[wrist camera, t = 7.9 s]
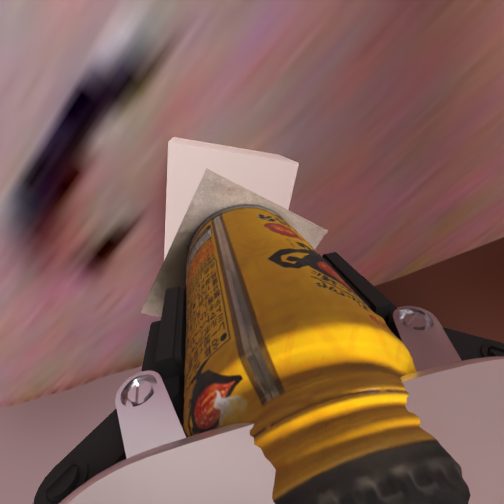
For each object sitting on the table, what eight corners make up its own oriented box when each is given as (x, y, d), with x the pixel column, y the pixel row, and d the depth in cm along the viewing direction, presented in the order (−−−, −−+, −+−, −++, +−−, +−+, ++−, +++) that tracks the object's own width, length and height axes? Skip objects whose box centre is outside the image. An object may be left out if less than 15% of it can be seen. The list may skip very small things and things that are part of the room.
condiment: (326, 229, 15) (658, 496, 4) (254, 340, 17) (350, 679, 7) (205, 167, 12) (299, 469, 2) (141, 309, 15) (12, 788, 4)
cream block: (173, 136, 24) (168, 142, 19) (278, 154, 27) (299, 163, 21) (169, 238, 28) (163, 265, 23) (260, 245, 31) (273, 271, 25)
